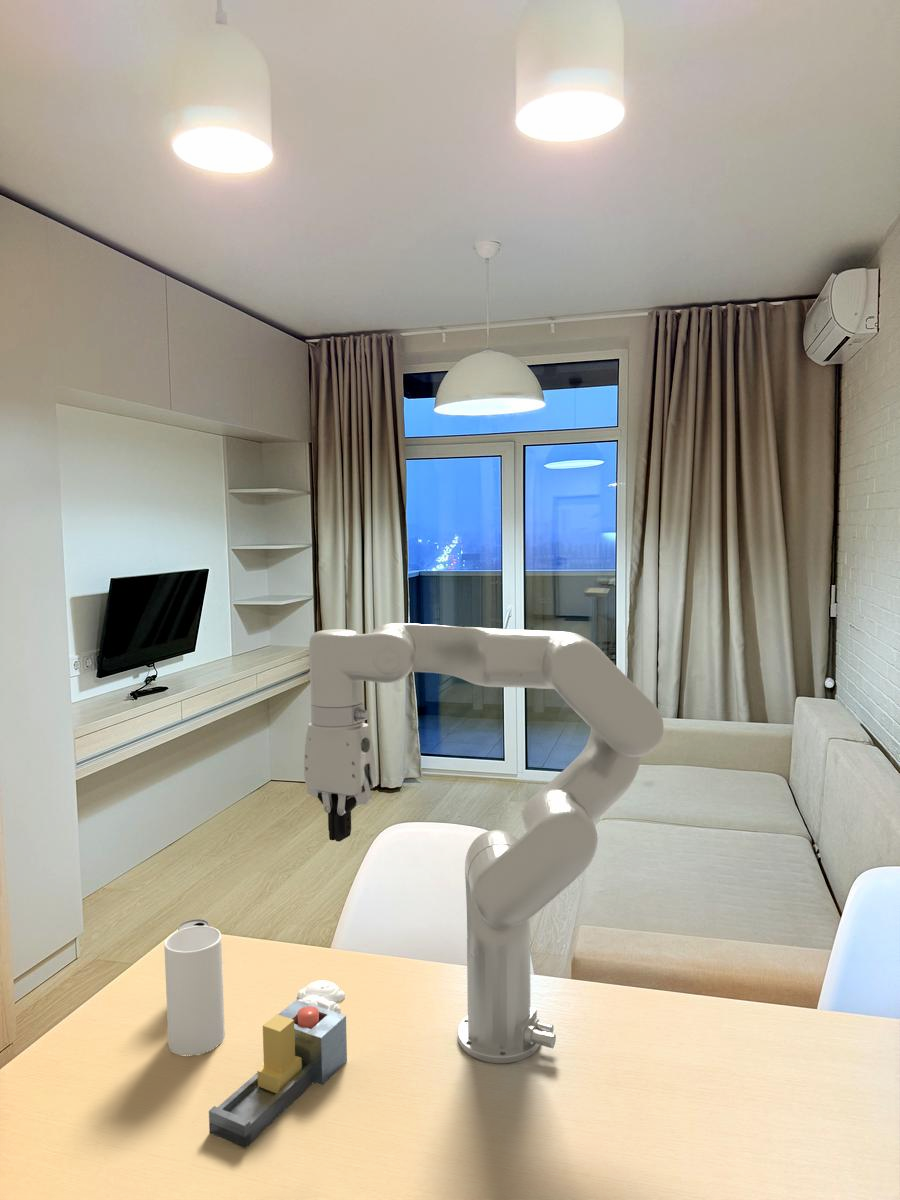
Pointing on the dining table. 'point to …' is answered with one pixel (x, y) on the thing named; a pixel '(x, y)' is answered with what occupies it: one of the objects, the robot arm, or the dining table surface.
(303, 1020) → the button
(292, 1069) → the block
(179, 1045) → the cup
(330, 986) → the astronaut figurine
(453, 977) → the dining table surface
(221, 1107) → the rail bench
